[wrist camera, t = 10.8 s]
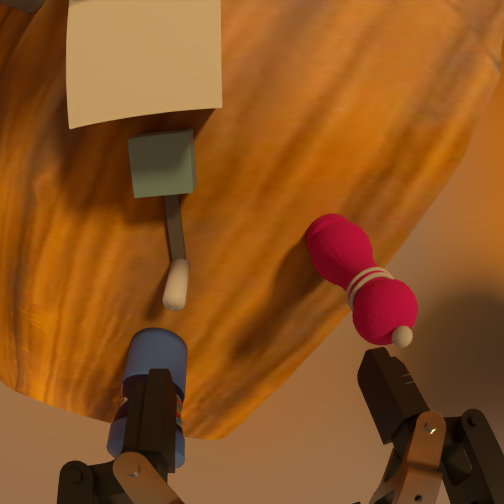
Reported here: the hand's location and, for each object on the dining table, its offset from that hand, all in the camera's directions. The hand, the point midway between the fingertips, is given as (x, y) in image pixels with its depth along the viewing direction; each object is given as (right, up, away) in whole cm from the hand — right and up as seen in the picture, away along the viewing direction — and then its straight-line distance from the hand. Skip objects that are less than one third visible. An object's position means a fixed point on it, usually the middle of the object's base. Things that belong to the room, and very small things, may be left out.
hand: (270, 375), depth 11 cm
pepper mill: (+9, +7, +27) cm, 29 cm away
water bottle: (-15, -10, +33) cm, 38 cm away
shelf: (-10, +25, +15) cm, 31 cm away
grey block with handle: (-10, +10, +23) cm, 27 cm away
